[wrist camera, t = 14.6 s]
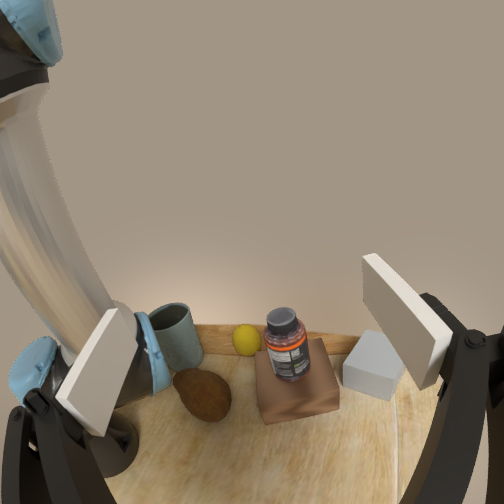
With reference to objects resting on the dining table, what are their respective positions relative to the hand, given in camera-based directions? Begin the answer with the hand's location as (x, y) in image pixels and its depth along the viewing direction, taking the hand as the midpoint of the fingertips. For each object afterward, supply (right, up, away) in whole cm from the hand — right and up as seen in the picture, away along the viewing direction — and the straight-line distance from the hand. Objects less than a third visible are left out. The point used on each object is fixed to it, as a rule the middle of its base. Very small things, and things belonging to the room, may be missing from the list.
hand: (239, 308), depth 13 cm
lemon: (+1, -19, +40) cm, 44 cm away
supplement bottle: (+7, -16, +27) cm, 32 cm away
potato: (-7, -25, +30) cm, 39 cm away
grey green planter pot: (-14, -21, +43) cm, 50 cm away
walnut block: (+8, -21, +29) cm, 37 cm away
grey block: (+22, -19, +27) cm, 39 cm away
